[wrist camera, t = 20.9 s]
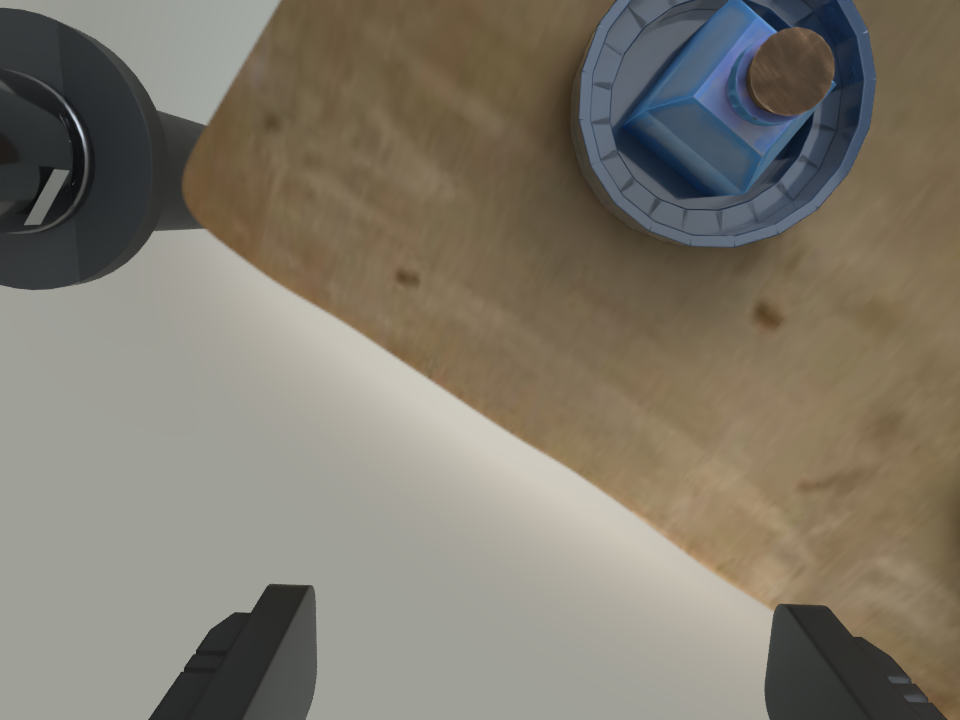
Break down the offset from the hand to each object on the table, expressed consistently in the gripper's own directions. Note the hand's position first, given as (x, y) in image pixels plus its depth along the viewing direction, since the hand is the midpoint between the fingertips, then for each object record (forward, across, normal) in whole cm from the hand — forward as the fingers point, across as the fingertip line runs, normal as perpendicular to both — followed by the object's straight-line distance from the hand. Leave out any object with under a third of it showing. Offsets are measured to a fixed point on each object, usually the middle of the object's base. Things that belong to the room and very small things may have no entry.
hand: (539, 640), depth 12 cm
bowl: (+30, -10, -13) cm, 34 cm away
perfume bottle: (+30, -10, -13) cm, 34 cm away
